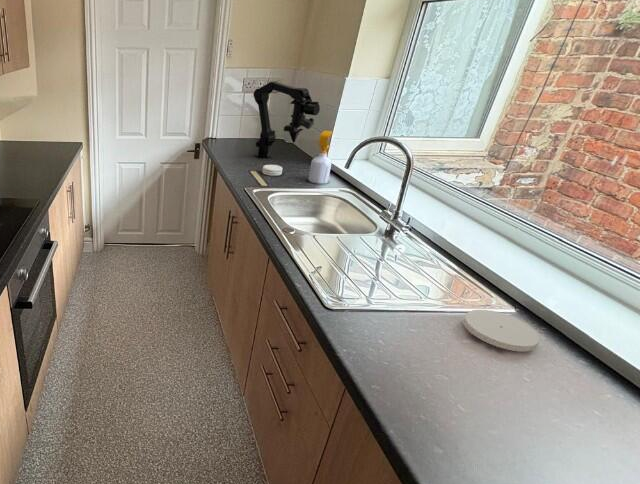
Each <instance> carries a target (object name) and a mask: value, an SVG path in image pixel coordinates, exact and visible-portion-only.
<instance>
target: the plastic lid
mask: <svg viewBox="0 0 640 484" xmlns="http://www.w3.org/2000/svg"><path fill="white" fill-rule="evenodd" d="M462 323H463V326H464V328H465V329H466V330H467V331H468V332H469V333H470V334H471V335H472V336H475V337H476V338H477V339H479V340H481V341H483V342H484V343H485V342H486V343H487V344H489V345H492V346H494V347H497V348H499V349H504V350H508V351H510V352H511V351H514V352H520V353H521V352H522V353H523V352H531V351H534V350H536V349H537V348H538V346H539V344H540V342H541V336H540V334H539V333H538V331H536V329H534V328H533V327H532V326H530V325H529V324H528V323H526V322H525V321H522V320H521V319H519V318H516V317H513V316H512V315H509V314H506V313H503V312H500V311H495V310H489V309H472V310H469V311H467V312H466V313H465V315H464V317H463V320H462Z"/></svg>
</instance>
